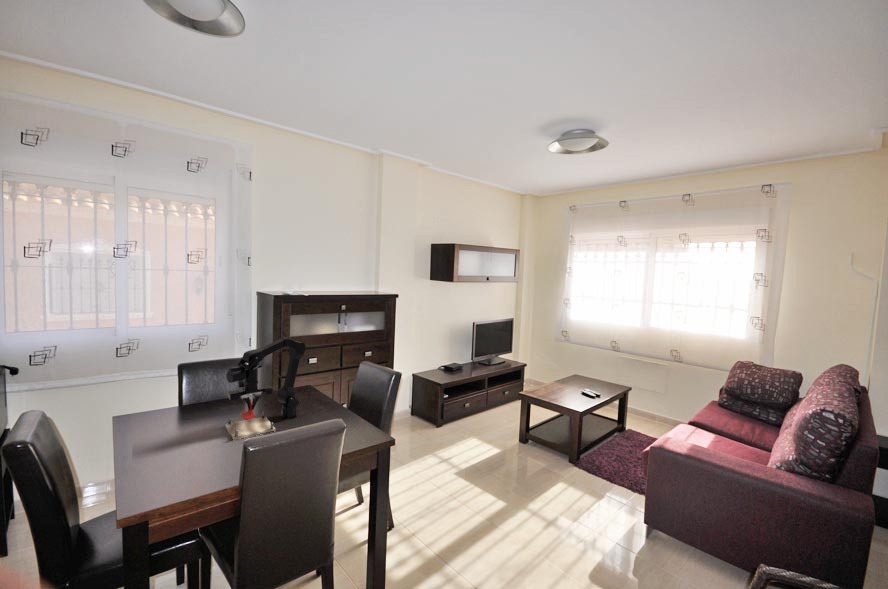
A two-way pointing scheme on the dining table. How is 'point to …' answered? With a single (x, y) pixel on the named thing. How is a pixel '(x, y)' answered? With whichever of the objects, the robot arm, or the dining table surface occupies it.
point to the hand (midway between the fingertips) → (250, 410)
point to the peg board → (249, 427)
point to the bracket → (248, 413)
